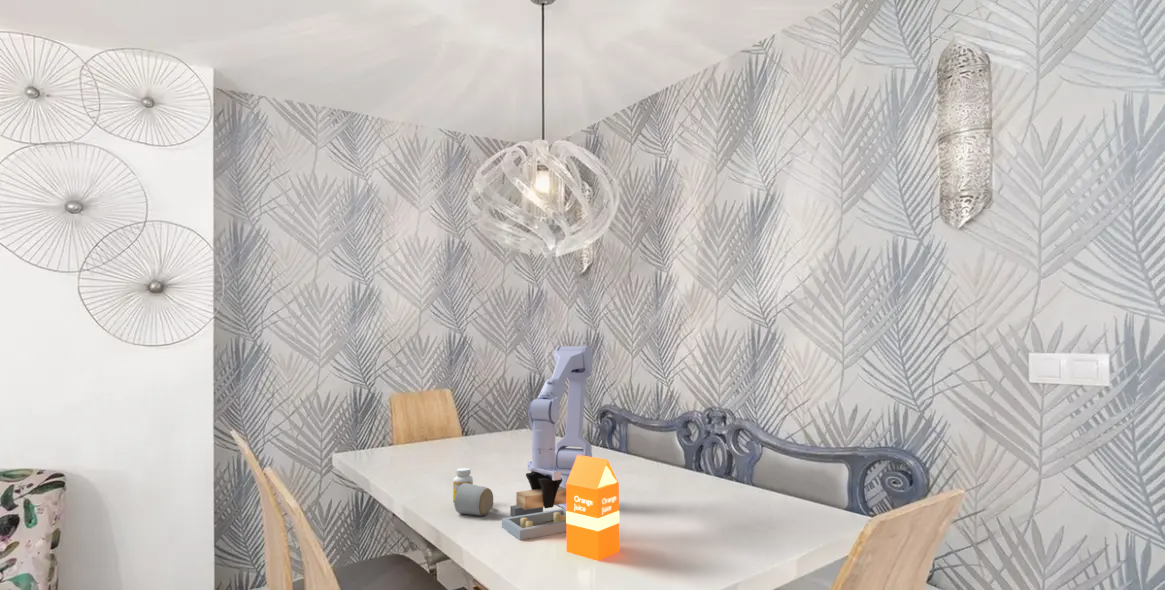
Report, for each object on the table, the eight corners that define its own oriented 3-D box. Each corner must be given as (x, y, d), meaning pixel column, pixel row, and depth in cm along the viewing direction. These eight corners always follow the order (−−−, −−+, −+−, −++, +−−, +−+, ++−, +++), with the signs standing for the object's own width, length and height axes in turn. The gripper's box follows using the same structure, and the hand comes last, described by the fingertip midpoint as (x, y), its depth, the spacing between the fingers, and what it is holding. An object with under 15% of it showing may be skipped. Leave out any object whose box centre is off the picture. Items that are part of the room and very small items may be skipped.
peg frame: (564, 517, 153) (564, 507, 153) (585, 528, 144) (585, 517, 144) (501, 527, 144) (501, 517, 145) (519, 540, 135) (519, 529, 135)
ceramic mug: (481, 519, 151) (481, 488, 152) (453, 516, 154) (454, 486, 155) (500, 509, 161) (501, 480, 162) (474, 506, 164) (474, 478, 165)
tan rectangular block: (560, 498, 150) (560, 486, 150) (569, 502, 145) (569, 490, 146) (516, 504, 144) (516, 492, 144) (524, 509, 139) (524, 496, 140)
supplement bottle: (465, 507, 162) (466, 471, 163) (449, 505, 164) (449, 470, 165) (475, 502, 167) (476, 468, 168) (459, 500, 169) (460, 466, 170)
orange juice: (588, 542, 134) (588, 452, 135) (620, 551, 128) (619, 456, 130) (565, 551, 128) (565, 457, 129) (597, 561, 122) (597, 462, 124)
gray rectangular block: (538, 511, 158) (538, 501, 158) (543, 514, 156) (543, 504, 156) (510, 515, 154) (510, 506, 154) (515, 518, 152) (515, 508, 152)
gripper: (516, 445, 150) (516, 500, 149) (542, 454, 137) (541, 514, 136) (542, 442, 153) (541, 496, 152) (568, 451, 141) (568, 510, 140)
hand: (543, 504), depth 144 cm, fingers closed on tan rectangular block, 5 cm apart
